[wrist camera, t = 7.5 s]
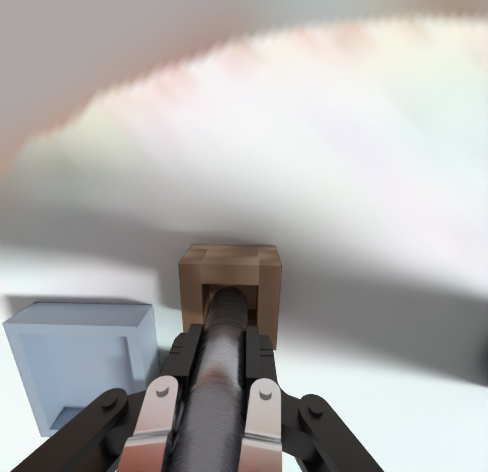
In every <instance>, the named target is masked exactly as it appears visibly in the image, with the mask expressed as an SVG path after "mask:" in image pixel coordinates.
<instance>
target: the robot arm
mask: <svg viewBox="0 0 488 472" xmlns="http://www.w3.org/2000/svg"><path fill="white" fill-rule="evenodd" d="M203 333H204V324H191V325H190V327H189V330H188V333H180V334H179V335H178V336H177V337H176V338H175V340H174V342H173V345H172V348H171V350H170V352H169V354H168V357H167V359H166V362H165V364H164V366H163V369H162V371H161V373H160V376H159V378H157V379H155V380H154V381H153V382H152V383H151V384H150V385H149V387H148V389H146V390H144V391H141V392H138V393H134V394H130V395H127V393H126V391H125V390H124V389H122V388H113V389H110V390H107V391H105V392H104V393H102V394H101V395H99V396H98V397H97V398H96V399H95V400H94V401H92V402H91V403H90V404H89V405H88V406H87V407H85V408H84V409H83V410H82V411H81V412H80V413H78V414H77V415H76V416H75V417H74V418H73V419H71V420H70V421H69V422H68V423H67V424H65V425H64V426H63V427H62V428H61V429H60V430H58V431H57V432H56V433H55V434H54V435H53V436H51V437H50V438H49V439H48V440H47V441H46V442H44V443H43V444H42V445H41V446H40V447H39V448H37V449H36V450H35V451H34V452H33V453H32V454H30V455H29V456H28V457H27V458H26V459H25V460H23V461H22V462H21V463H20V464H19V465H18V466H16V467H15V468H14V469H13V470H12V471H11V472H115V471H116V470H117V471H116V472H168V468H169V463H170V458H171V454H172V449H173V446H174V442H175V438H176V434H177V431H178V427H179V423H180V419H181V416H182V412H183V408H184V404H185V401H186V397H187V393H188V389H189V386H190V382H191V378H192V375H193V371H194V367H195V363H196V359H197V356H198V352H199V348H200V344H201V341H202V337H203ZM246 392H247V419H246V427H245V433H244V435H243V440H242V446H241V454H240V461H239V468H238V472H282V451H283V452H285V453H288V454H290V455H292V456H294V457H295V459H296V461H297V463H298V465H299V466H300V468H301V470H302V472H384V471H383V470H382V468H381V467H380V466H379V465H378V464H377V462H376V461H375V460H374V459H373V457H372V456H371V455H370V454H369V453H368V451H367V450H366V449H365V448H364V446H363V445H362V444H361V443H360V442H359V440H358V439H357V438H356V437H355V436H354V434H353V433H352V432H351V431H350V429H349V428H348V427H347V426H346V425H345V423H344V422H343V421H342V420H341V418H340V417H339V416H338V415H337V414H336V412H335V411H334V410H333V409H332V407H331V406H330V405H329V404H328V403H327V402H326V401H325V400H324V399H323V398H322V397H320V396H318V395H314V394H308V395H305V396H303V397H302V398H301V399H298V398H295V397H292V396H290V395H288V394H286V393H285V392H284V391H283V390H282V389H281V388H280V386H279V385H278V382H277V375H276V368H275V361H274V353H273V346H272V341H271V340H270V338H269V337H268V335H259V326H257V325H247V326H246Z"/></svg>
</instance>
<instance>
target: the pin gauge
mask: <svg viewBox="0 0 488 472" xmlns="http://www.w3.org/2000/svg"><path fill="white" fill-rule="evenodd" d="M246 326H247V298H246V296H245V294H244V293H243V292H242V291H241V290H239V289H237V288H235V287H224V288H221V289H219V290H218V291H217V292H216V293H215V294H214V296H213V299H212V303H211V306H210V310H209V314H208V318H207V322H206V325H205V329H204V333H203V337H202V341H201V344H200V348H199V352H198V356H197V359H196V363H195V367H194V371H193V375H192V378H191V382H190V386H189V389H188V393H187V397H186V401H185V404H184V408H183V412H182V416H181V419H180V423H179V427H178V431H177V434H176V438H175V442H174V446H173V449H172V454H171V458H170V463H169V468H168V472H238V468H239V461H240V454H241V446H242V440H243V435H244V433H245V427H246V419H247V392H246Z"/></svg>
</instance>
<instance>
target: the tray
mask: <svg viewBox="0 0 488 472" xmlns="http://www.w3.org/2000/svg"><path fill="white" fill-rule="evenodd" d="M2 324H3V327H4V329H5V332H6V335H7V338H8V341H9V344H10V347H11V350H12V353H13V356H14V359H15V362H16V365H17V367H18V370H19V373H20V376H21V379H22V382H23V385H24V388H25V391H26V394H27V397H28V400H29V403H30V406H31V408H32V411H33V414H34V417H35V420H36V423H37V426H38V429H39V432H40V435H41V437H51V436H53V435H54V434H55V433H56V432H57V431H58V430H60V429H61V428H62V427H63V426H64V425H65V424H67V423H68V422H69V421H70V420H71V419H73V418H74V417H75V416H76V415H77V414H78V413H80V412H81V411H82V410H83V409H84V408H85V407H87V406H88V405H89V404H90V403H91V402H92V401H94V400H95V399H96V398H97V397H98V396H99V395H101V394H102V393H104V392H105V391H107V390H110V389H113V388H122V389H124V390H125V391H126V393H127V395H130V394H134V393H138V392H141V391H144V390H146V389H148V387H149V385H150V384H151V383H152V382H153V381H154V380H155V379H157V378H159V376H160V365H159V356H158V348H157V339H156V331H155V322H154V314H153V305H128V304H87V303H46V302H35V303H33V304H32V305H30V306H29V307H27V308H25V309H24V310H22V311H21V312H19V313H18V314H16V315H14V316H13V317H11V318H10V319H8V320H7V321H5V322H3V323H2Z"/></svg>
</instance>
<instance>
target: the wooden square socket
mask: <svg viewBox="0 0 488 472" xmlns="http://www.w3.org/2000/svg"><path fill="white" fill-rule="evenodd" d="M178 265H179V278H180V292H181V305H182V318H183V332H184V333H188V330H189V327H190V325H191V324H204V329H205V325H206V322H207V318H208V314H209V310H210V306H211V303H212V299H213V296H214V294H215V293H216V292H217V291H218V290H219V289H221V288H224V287H235V288H237V289H239V290H241V291H242V292H243V293H244V294H245V296H246V298H247V325H257V326H259V335H268V337H269V338H270V340H271V341H272V346H273V350H276V344H277V329H278V314H279V298H280V283H281V268H282V265H281V262H280V259H279V256H278V253H277V250H276V247H275V246H244V245H194V244H192V246H191V247H190V248H189V250H188V251H187V252H186V254H185V255H184V257H183V258H182V259H181V261H180V262H179V263H178Z"/></svg>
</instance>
